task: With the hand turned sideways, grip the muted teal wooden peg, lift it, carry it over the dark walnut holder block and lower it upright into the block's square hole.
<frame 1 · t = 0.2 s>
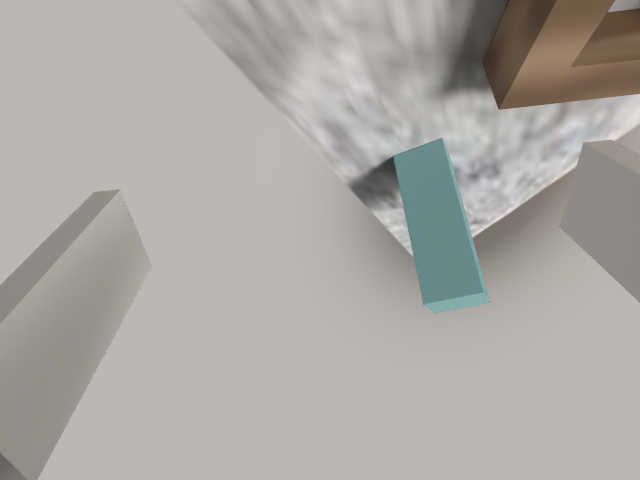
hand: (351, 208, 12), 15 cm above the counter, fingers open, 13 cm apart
teal peg: (423, 159, 37), on the counter
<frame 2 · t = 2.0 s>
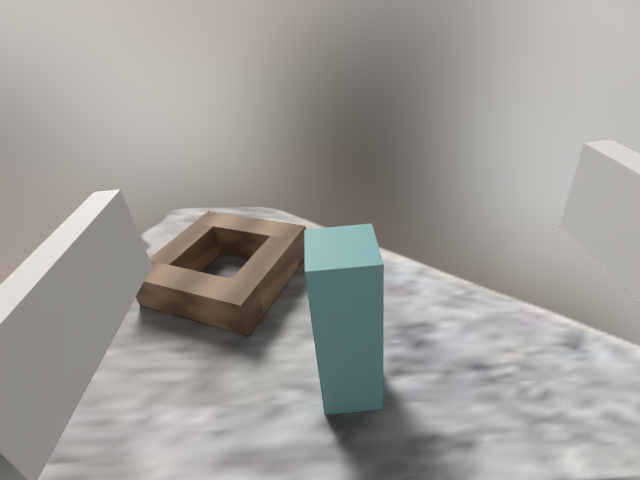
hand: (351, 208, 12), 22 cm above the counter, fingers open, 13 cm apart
holder block: (229, 277, 45), on the counter
teal peg: (350, 386, 32), on the counter
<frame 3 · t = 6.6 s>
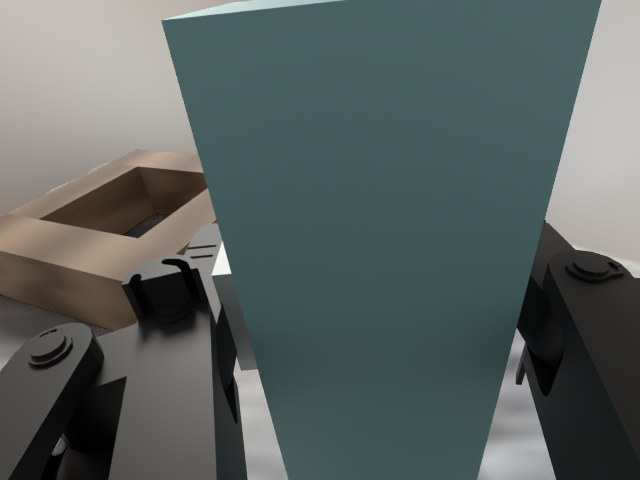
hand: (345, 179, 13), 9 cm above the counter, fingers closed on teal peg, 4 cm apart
holder block: (158, 247, 27), on the counter
teal peg: (373, 469, 13), on the counter, touching gripper
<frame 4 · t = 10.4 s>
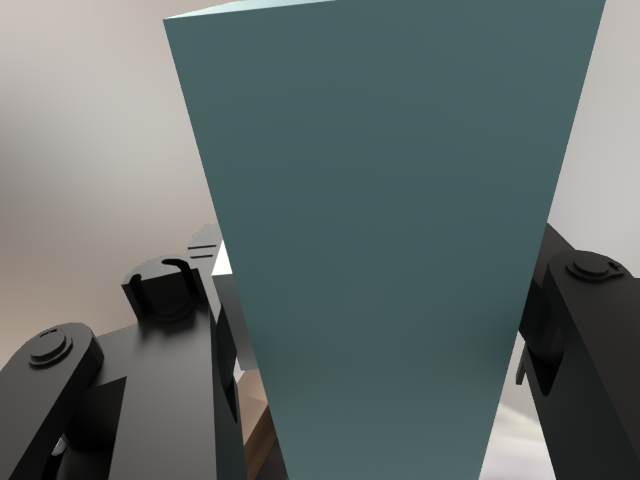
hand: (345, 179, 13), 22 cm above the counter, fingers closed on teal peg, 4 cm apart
teal peg: (373, 470, 13), point 13 cm above the counter, touching gripper
when the fingers open (9 cm above the counter, at t = 14.2 s): teal peg drops 1 cm, resting in holder block.
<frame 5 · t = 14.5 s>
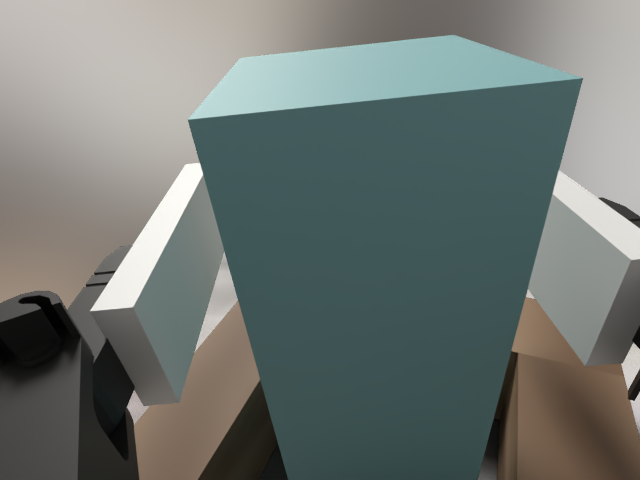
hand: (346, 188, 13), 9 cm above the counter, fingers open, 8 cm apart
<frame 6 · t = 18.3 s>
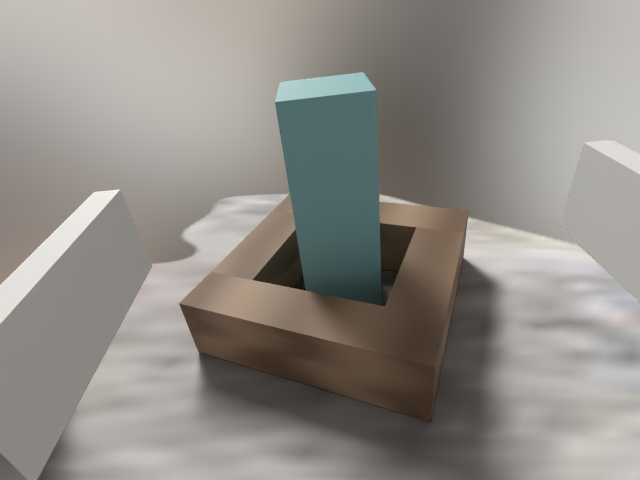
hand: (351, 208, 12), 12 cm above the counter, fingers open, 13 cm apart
holder block: (343, 299, 27), on the counter
teal peg: (343, 300, 27), resting in holder block
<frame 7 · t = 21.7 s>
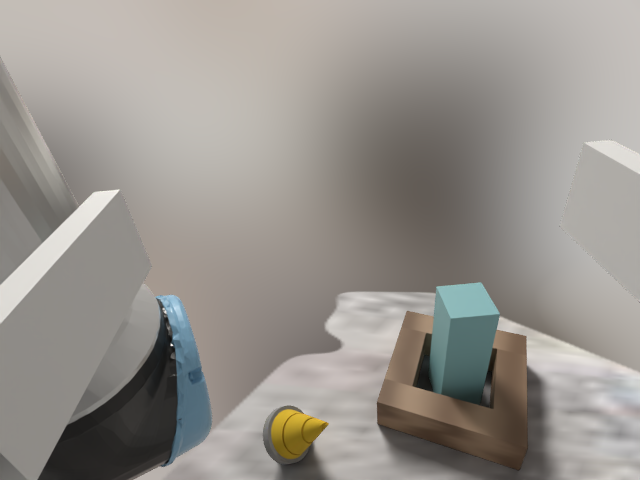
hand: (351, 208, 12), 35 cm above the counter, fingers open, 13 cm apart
holder block: (452, 389, 45), on the counter
teal peg: (452, 389, 45), resting in holder block
yellow grooved cone: (300, 446, 42), on the counter
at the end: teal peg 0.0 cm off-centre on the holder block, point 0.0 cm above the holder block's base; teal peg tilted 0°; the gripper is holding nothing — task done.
